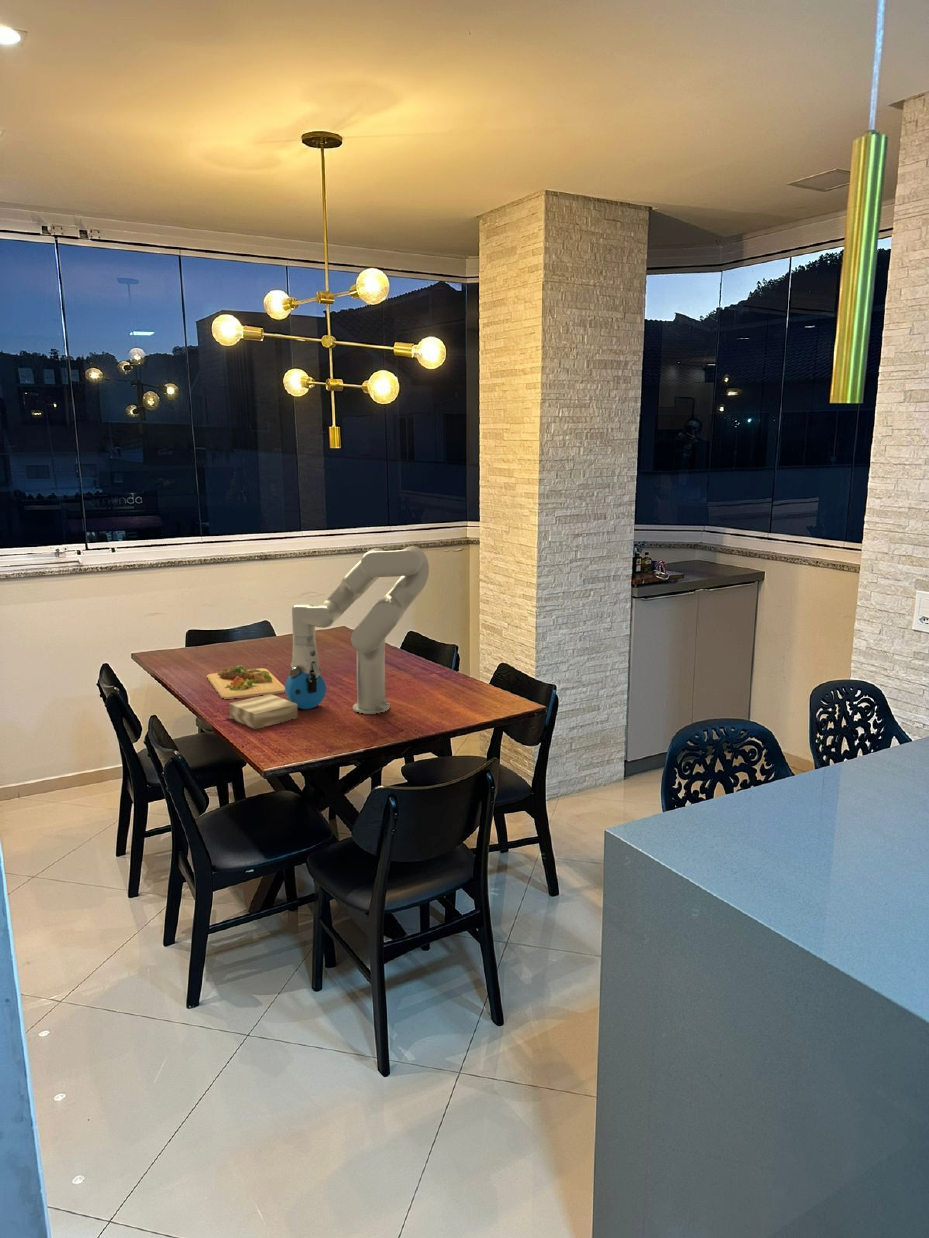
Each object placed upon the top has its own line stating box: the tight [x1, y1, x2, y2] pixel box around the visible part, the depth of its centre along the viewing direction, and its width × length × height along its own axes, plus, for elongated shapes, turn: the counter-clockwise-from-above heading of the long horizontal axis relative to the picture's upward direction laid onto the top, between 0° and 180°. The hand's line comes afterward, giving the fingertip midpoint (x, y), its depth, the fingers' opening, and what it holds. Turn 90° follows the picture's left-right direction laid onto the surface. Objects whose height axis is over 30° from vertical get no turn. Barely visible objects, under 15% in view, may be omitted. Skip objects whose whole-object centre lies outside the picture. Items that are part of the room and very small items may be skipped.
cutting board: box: [206, 665, 285, 700], centre depth 323 cm, size 35×23×8 cm
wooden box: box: [228, 694, 299, 730], centre depth 283 cm, size 16×16×5 cm
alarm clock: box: [284, 666, 327, 710], centre depth 294 cm, size 13×6×15 cm, turn 118°
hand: (305, 689), depth 294 cm, fingers closed on alarm clock, 7 cm apart
